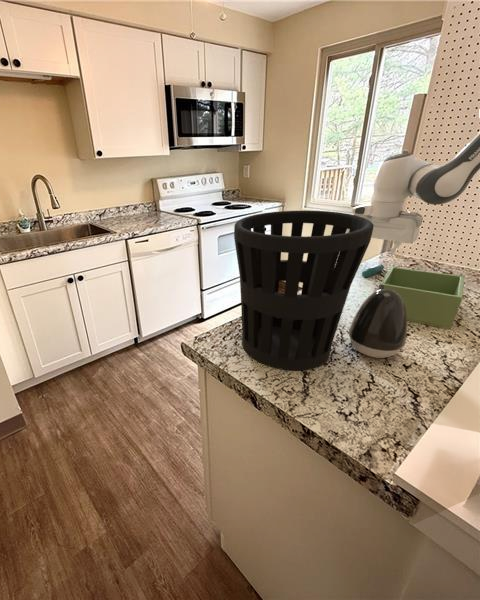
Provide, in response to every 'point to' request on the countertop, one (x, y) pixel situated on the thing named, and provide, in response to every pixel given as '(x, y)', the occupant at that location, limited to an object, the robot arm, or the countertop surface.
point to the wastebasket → (296, 283)
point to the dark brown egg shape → (380, 324)
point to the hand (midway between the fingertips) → (375, 251)
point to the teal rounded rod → (372, 270)
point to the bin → (427, 294)
